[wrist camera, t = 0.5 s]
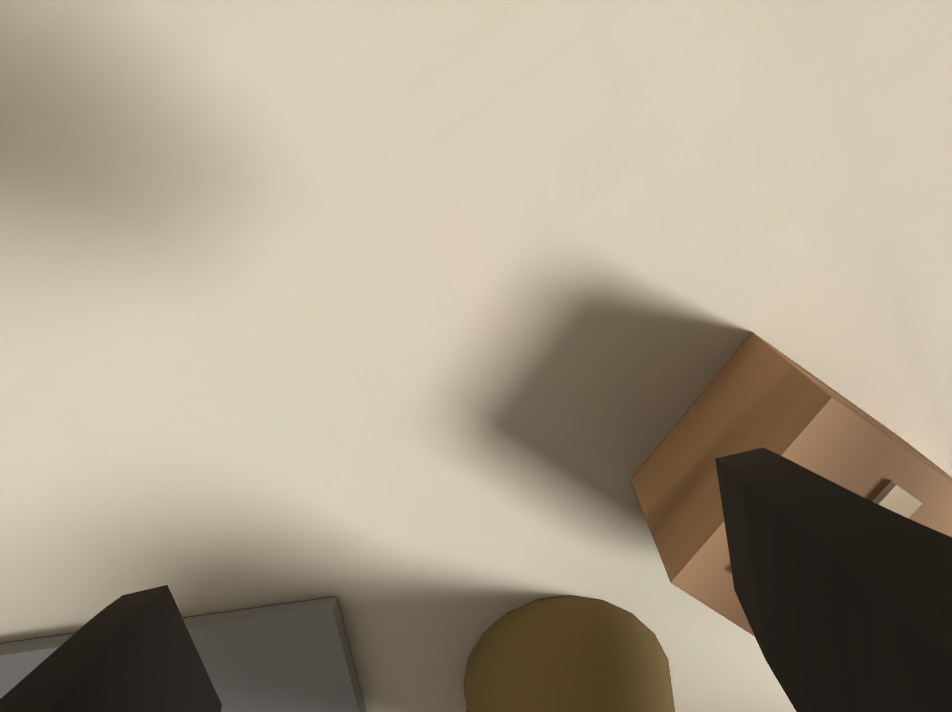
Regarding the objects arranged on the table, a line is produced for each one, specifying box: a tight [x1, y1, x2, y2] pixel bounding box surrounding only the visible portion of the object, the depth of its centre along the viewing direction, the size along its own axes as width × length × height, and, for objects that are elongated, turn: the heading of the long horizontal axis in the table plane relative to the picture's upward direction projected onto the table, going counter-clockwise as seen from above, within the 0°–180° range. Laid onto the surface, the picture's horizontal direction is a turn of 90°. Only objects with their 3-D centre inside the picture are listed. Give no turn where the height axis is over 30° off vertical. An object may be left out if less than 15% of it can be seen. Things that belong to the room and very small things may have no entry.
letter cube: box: [631, 332, 952, 636], centre depth 19 cm, size 5×5×5 cm
